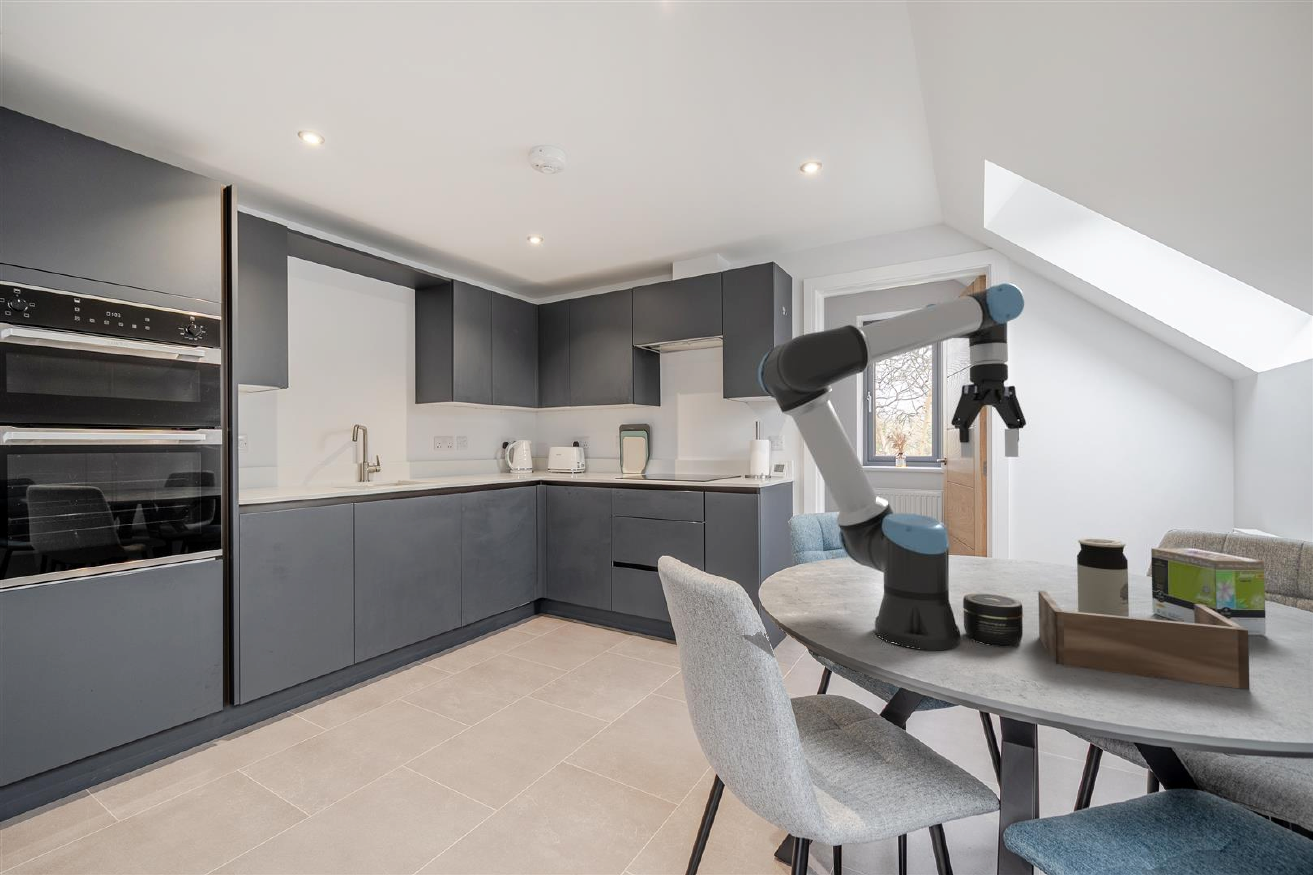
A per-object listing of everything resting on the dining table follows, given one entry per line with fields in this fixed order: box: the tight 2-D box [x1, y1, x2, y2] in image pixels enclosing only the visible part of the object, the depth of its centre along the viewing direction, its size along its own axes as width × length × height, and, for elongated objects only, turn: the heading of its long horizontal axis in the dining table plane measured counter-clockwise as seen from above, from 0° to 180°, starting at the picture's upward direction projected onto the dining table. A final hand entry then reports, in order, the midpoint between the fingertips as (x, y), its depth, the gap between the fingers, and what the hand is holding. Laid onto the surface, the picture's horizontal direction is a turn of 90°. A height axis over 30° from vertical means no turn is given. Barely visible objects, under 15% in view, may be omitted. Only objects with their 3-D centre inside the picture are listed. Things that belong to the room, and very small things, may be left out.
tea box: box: [1150, 547, 1267, 636], centre depth 117 cm, size 15×10×15 cm
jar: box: [962, 593, 1024, 647], centre depth 109 cm, size 10×10×8 cm
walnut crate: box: [1037, 590, 1251, 691], centre depth 98 cm, size 15×24×9 cm, turn 65°
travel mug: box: [1076, 538, 1130, 617], centre depth 113 cm, size 8×8×18 cm
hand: (989, 457), depth 128 cm, fingers open, 13 cm apart
